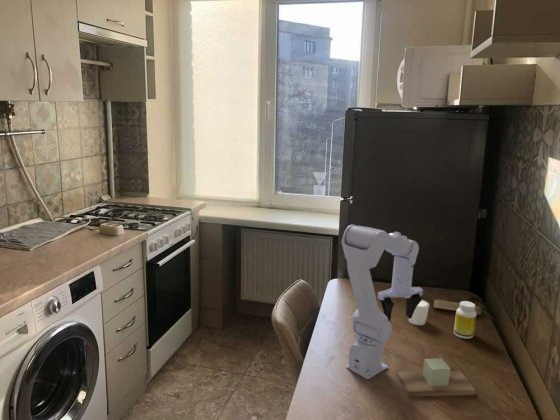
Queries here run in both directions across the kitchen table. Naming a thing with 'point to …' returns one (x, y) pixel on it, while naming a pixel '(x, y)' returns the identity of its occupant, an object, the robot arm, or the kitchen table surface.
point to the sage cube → (436, 372)
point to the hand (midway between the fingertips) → (398, 318)
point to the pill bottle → (465, 320)
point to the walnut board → (420, 387)
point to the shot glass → (420, 313)
